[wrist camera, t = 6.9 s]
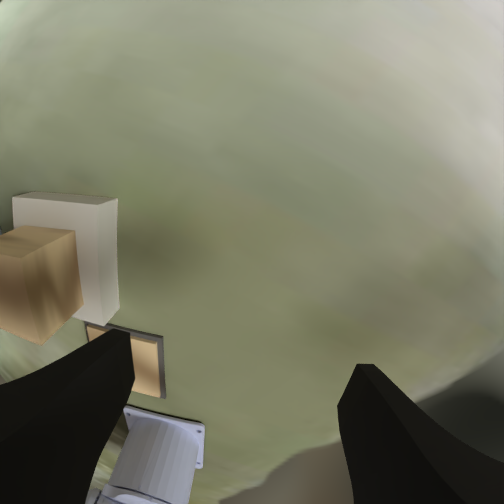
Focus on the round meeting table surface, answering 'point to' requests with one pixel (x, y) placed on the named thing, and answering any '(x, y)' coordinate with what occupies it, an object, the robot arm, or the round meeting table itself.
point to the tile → (140, 358)
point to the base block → (81, 243)
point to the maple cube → (38, 281)
